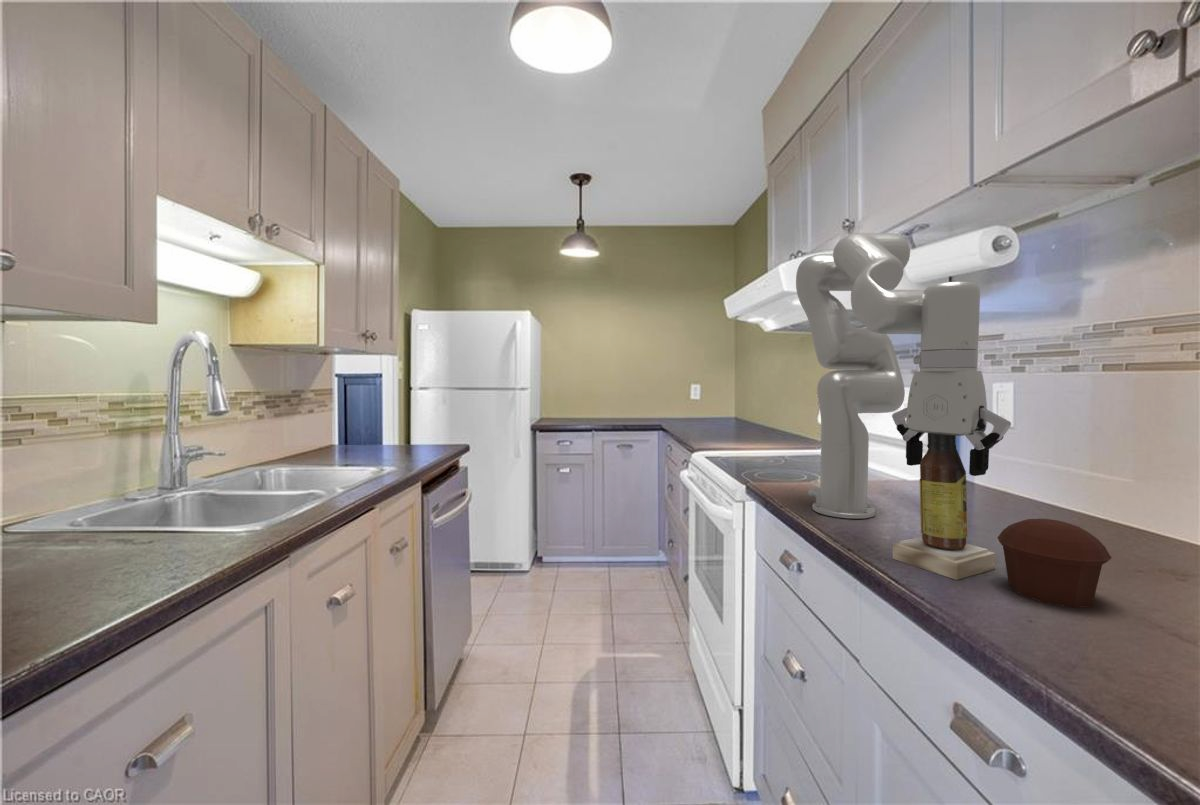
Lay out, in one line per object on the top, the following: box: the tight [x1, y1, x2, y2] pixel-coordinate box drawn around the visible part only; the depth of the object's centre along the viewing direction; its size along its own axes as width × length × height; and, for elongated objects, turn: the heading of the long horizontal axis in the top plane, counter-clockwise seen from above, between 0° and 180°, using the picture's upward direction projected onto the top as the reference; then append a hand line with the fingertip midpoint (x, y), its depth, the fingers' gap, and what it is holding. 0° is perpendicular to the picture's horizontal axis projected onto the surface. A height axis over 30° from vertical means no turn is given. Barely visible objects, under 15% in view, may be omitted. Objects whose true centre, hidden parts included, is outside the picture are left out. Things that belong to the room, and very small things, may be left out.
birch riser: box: [892, 536, 997, 581], centre depth 82 cm, size 10×10×3 cm
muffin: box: [996, 518, 1112, 609], centre depth 70 cm, size 12×11×10 cm
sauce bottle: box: [919, 433, 968, 549], centre depth 81 cm, size 6×6×20 cm
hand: (944, 469), depth 81 cm, fingers open, 9 cm apart
